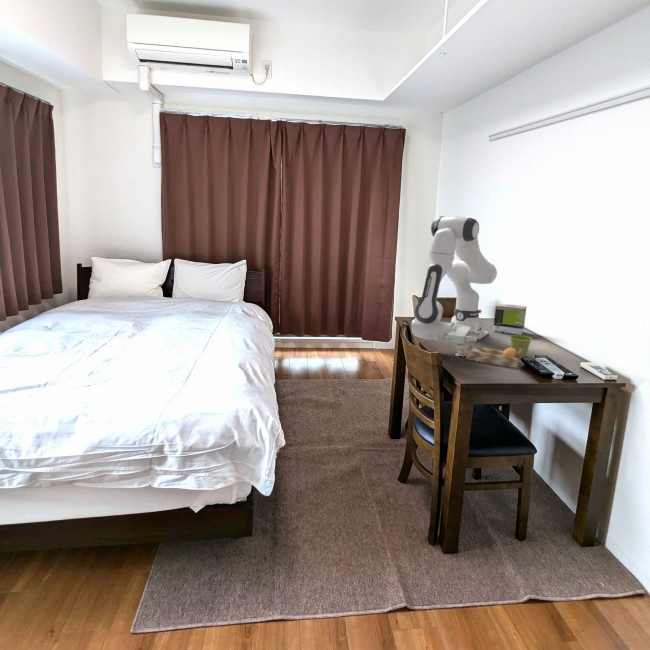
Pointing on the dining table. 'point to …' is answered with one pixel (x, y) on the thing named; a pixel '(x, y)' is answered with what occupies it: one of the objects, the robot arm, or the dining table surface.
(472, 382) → the dining table surface
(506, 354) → the ball
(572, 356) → the dining table surface
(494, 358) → the lane
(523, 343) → the plant pot
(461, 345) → the tee
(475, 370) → the dining table surface
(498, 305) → the white retro computer
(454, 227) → the robot arm
